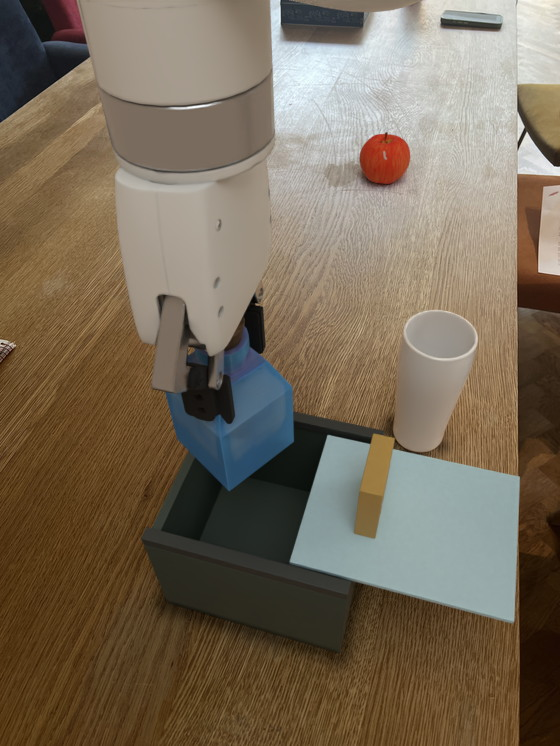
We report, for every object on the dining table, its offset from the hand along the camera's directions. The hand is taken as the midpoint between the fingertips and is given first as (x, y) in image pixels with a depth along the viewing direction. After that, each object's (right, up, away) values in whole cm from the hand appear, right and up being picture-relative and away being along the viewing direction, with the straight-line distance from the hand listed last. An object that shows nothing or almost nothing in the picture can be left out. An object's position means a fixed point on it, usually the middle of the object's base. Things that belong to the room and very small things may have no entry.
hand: (227, 378), depth 41 cm
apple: (+20, +32, +61) cm, 72 cm away
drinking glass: (+18, -6, +25) cm, 32 cm away
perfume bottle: (0, -5, +5) cm, 7 cm away
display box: (+3, -16, +16) cm, 23 cm away
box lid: (+13, -11, +6) cm, 18 cm away
